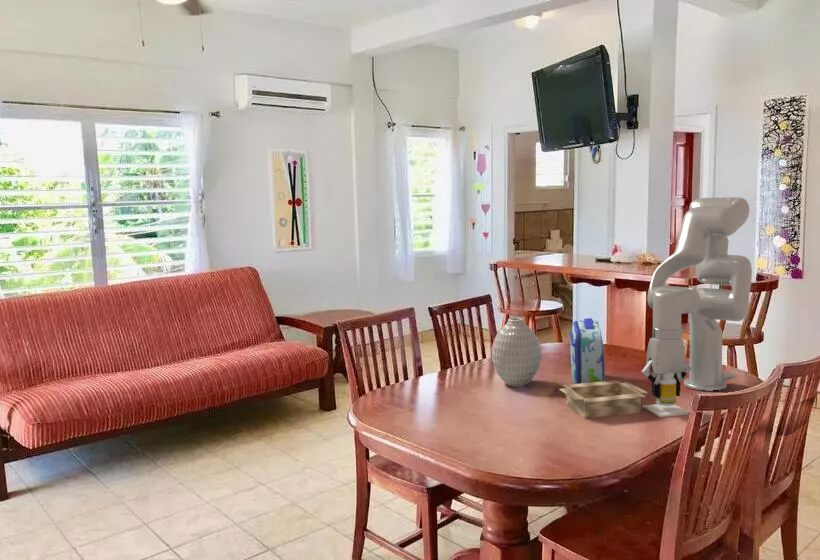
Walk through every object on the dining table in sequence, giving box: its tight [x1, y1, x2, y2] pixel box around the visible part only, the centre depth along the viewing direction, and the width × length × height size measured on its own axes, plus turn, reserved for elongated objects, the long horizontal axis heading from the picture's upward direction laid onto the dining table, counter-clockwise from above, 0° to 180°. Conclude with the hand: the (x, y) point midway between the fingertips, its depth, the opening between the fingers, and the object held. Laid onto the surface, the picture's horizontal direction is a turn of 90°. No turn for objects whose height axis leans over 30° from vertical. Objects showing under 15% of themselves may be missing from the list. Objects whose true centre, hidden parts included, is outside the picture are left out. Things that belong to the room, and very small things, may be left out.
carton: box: [559, 379, 648, 419], centre depth 197 cm, size 22×17×6 cm
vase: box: [491, 317, 542, 388], centre depth 224 cm, size 16×16×22 cm
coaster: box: [642, 403, 690, 418], centre depth 194 cm, size 9×9×1 cm
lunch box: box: [569, 317, 606, 384], centre depth 222 cm, size 26×11×21 cm, turn 168°
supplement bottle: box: [655, 373, 677, 406], centre depth 193 cm, size 5×5×10 cm
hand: (665, 395), depth 193 cm, fingers closed on supplement bottle, 5 cm apart
